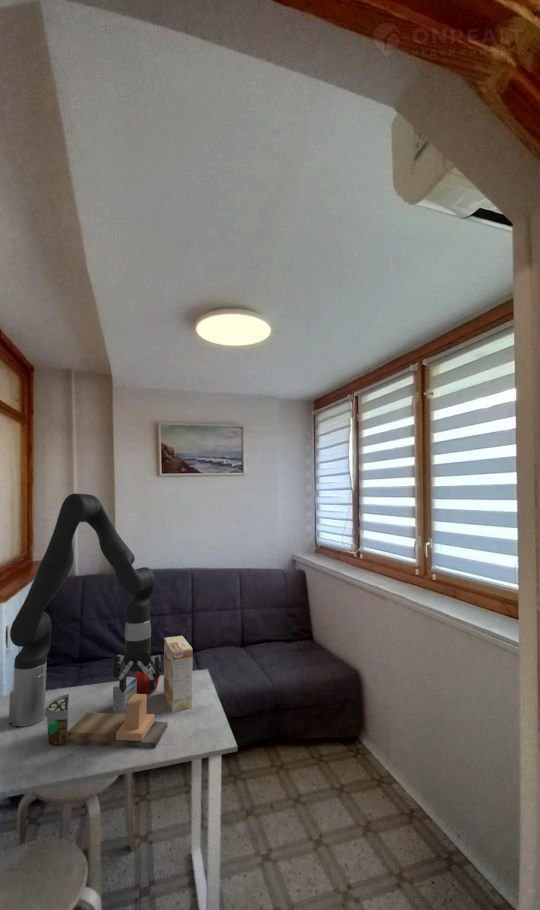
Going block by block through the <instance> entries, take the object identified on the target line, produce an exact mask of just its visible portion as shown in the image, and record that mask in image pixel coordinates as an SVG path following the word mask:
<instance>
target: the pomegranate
mask: <svg viewBox="0 0 540 910" xmlns="http://www.w3.org/2000/svg"><path fill="white" fill-rule="evenodd" d="M153 670H155V667H153ZM132 677H135V678H137V694H147V695H149V694H150V693H149V680H150V679H149V677H148V676H147V675H146V674H145V673H144V672H143V671H142V672H138V671H136V672H135V673H134V674H133V675H132ZM159 679H160V677H159V678H156V683H155V684H156V687H155V689H154V690H153V692H155V690H156V689H157V688H158V685H159Z"/></svg>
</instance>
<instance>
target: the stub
mask: <svg viewBox="0 0 540 910" xmlns="http://www.w3.org/2000/svg"><path fill="white" fill-rule="evenodd" d="M147 696H148V694H133V696H132V697H131V698H130V699H129V700H128V702H127V703H126V720H125V722H124V723H123V724H122V725H121V727H120V728H119V729H118V731H117V732H116V740H130V741H142V740H143V738H144V737H145V735H146V734H147V732H148V731H149V729H150V728H151V726H152V724H153V723H154V722H156V721H155V716H156V714H153V713H152V714H151V713H149V714H148V713H147Z"/></svg>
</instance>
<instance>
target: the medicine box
mask: <svg viewBox="0 0 540 910" xmlns="http://www.w3.org/2000/svg"><path fill="white" fill-rule="evenodd" d="M125 677H126V690H125V692H121V690H120V689H119V682H117V683H116V684H115V685H114V686H113V687H112V713H115V714H126V703H127V702H128V700H129V699H130V698H131V697H132V696H133V694H137V678H135V677H133V676H125Z"/></svg>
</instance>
